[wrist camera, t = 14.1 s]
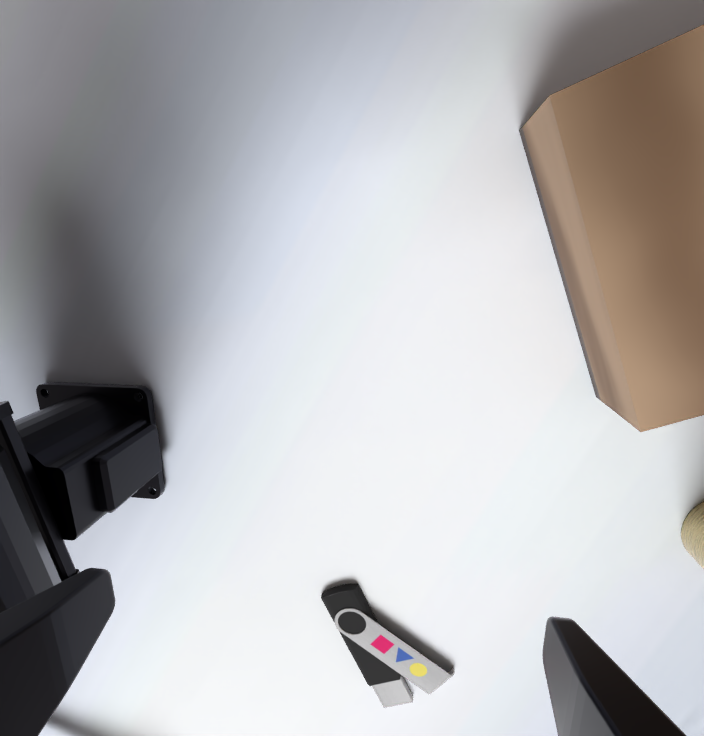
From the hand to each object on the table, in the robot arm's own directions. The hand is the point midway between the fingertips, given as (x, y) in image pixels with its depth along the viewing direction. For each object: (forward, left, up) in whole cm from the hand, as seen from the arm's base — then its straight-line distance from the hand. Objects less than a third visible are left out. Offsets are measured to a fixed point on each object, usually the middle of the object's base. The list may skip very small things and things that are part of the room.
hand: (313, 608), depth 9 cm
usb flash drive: (+1, -15, -14) cm, 20 cm away
